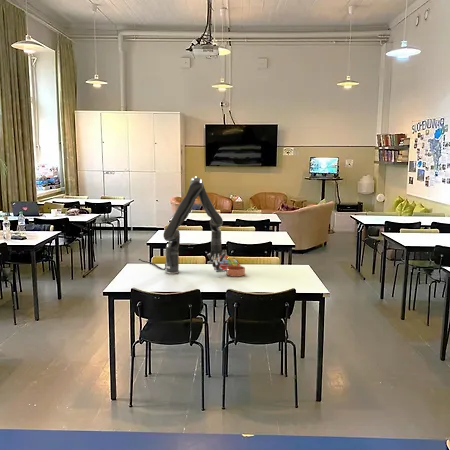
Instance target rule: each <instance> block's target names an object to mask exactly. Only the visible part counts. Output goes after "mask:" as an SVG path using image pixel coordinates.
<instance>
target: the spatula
mask: <svg viewBox="0 0 450 450" xmlns="http://www.w3.org/2000/svg"><path fill="white" fill-rule="evenodd" d="M213 270H214V271H215V272H216V273H224V272H225V271H224V270H223V269H222V268H219V264H218V263H217V262H215V267H213Z"/></svg>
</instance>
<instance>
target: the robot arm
mask: <svg viewBox="0 0 450 450" xmlns="http://www.w3.org/2000/svg"><path fill="white" fill-rule="evenodd" d="M197 198H199V200H200V204H201V206H202V208H203V210H204V212H205V214H206V215H207V216H208V217H209V218H210V219H209V227H210V231H211V239H210V252H209V253H207V258H208V259H209V261H210V262H211V263H212V267H213V268H215V258H216V257H217V263H218V264H219V265H220V261H222V260H223V258H224V256H225V257H226V253H225V252H223V251H222V244H223V243H222V230H221V229H220V227H222V226H223V224H224V220H223V217H222V216H221V214H220V213H218V211H217V209H216V208H215V206H214V204H213V202H212V200H211V198H210V197H209V195H208V193H207V191H206V187H205V186H204V182H203V180H202V178H201V177H198V176H193V177H192V178H191V179H190V181H189V187H188V189H187V192H186V194H185V196H184V197H183V199H182V200H181V201H180V202H179V204H178V206H177V207H176V210H175V212H174V213H173V216H172V218H171V220H170V222H169V223H168V225H167V226H166V227H165V229H164V232H163V235H162V236H163V239H164V241H166V242H168V243H167V244H166V246H165V263H164V268H162V267H160V266H159V265H158V264H156V263H154V262H150V261H148V260H143V259H141V258H139V259H138V261H141V262H142V263H147V264H151V265H153V266H155V267H156V268H158V269H160V270H163V271H164V270H165V273H166V274H168V275H177V274H179V272H180V264H179V263H180V260H179V259H180V258H179V247H180V242H181V241H180V240H181V233H180V230H179V227H180V226H181V225H182V224H183V223H184V222H185V221H186V219H187V218H188V217H189V214H190V212H191V211H192V208H193V206H194V204H195V202H196V200H197ZM220 256H221V258H220ZM211 257H213V260H212V258H211Z"/></svg>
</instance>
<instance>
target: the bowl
mask: <svg viewBox="0 0 450 450" xmlns="http://www.w3.org/2000/svg"><path fill="white" fill-rule="evenodd" d="M226 275H227V276H229V277H233V278H234V277H237V278H238V277H244V276H245V275H246V267H245V266H242V265H240V266H229V267H227V271H226Z"/></svg>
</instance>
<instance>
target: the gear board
mask: <svg viewBox="0 0 450 450" xmlns="http://www.w3.org/2000/svg"><path fill="white" fill-rule="evenodd" d="M221 256H222V255H220V258H221ZM210 257H211V259H212V260H213V256H210ZM228 257H232V256H229V255H225V256H224V258H223V260H222V261H220V265H219V268H222V269H223V270H224V272H227V267H229V266H241V264H240V263H239V262H238V261H237V258H235V259H233V260H230V259H227V258H228ZM215 262H217V257H216V258H215Z"/></svg>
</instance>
